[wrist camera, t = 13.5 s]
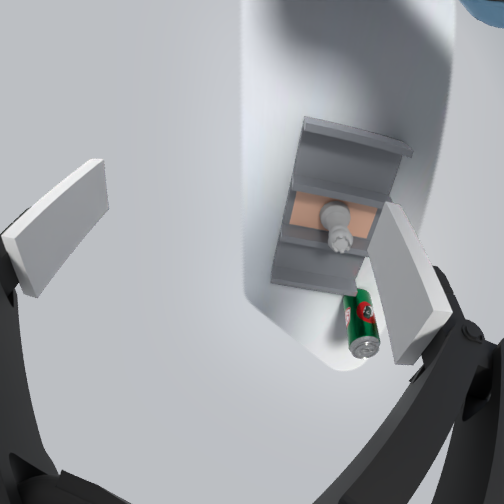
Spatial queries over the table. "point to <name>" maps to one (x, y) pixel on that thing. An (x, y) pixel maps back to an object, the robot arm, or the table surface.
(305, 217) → the stepped slat stand
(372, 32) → the table surface
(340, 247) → the rook chess piece
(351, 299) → the soda can
